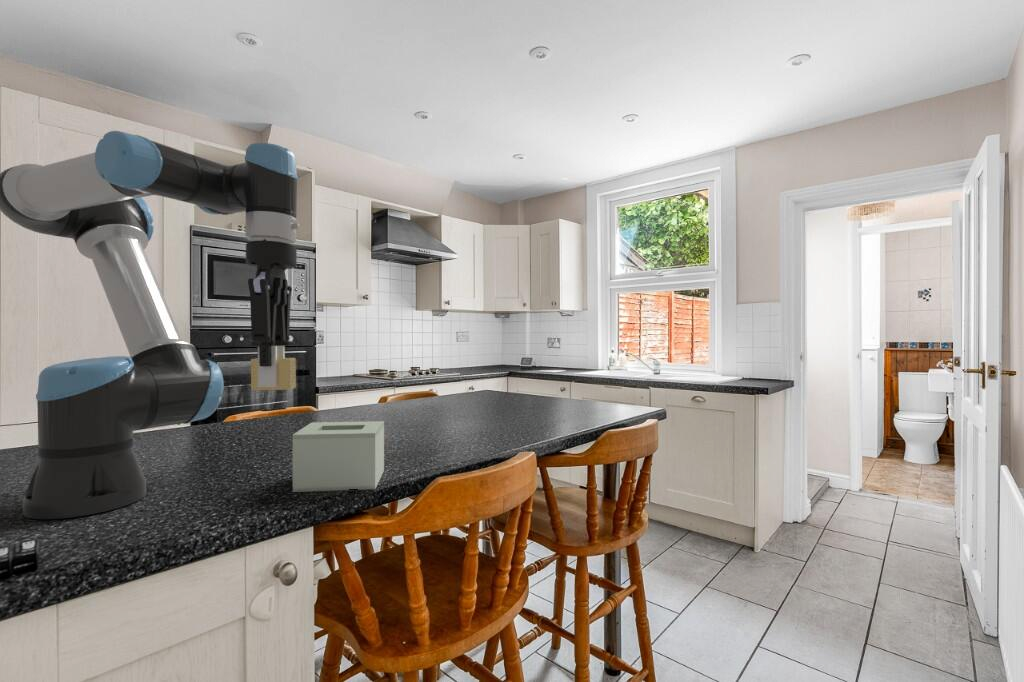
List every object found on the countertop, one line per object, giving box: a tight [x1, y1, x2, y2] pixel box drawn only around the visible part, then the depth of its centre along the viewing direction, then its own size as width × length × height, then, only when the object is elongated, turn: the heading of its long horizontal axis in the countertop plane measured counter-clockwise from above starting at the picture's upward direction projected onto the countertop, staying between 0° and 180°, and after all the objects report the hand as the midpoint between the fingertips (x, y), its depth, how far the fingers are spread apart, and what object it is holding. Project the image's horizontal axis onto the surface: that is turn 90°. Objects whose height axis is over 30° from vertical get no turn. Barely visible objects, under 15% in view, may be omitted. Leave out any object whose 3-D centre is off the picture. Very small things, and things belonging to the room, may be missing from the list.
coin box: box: [292, 420, 385, 493], centre depth 93 cm, size 14×12×10 cm
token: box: [250, 357, 297, 391], centre depth 82 cm, size 6×3×5 cm, turn 97°
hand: (271, 385), depth 81 cm, fingers closed on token, 3 cm apart
